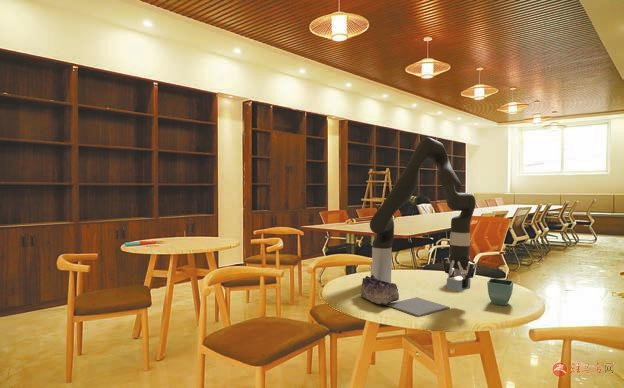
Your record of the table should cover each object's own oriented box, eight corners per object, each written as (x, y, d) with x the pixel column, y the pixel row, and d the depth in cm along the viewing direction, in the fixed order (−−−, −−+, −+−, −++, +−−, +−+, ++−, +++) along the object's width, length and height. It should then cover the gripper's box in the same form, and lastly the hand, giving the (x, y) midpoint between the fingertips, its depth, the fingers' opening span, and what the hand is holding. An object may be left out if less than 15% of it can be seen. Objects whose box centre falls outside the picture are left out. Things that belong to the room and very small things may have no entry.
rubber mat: (386, 305, 158) (386, 304, 158) (417, 298, 168) (417, 297, 168) (418, 316, 145) (418, 315, 145) (449, 308, 155) (449, 306, 155)
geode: (350, 296, 170) (352, 272, 171) (372, 297, 176) (374, 273, 177) (379, 306, 152) (381, 279, 153) (403, 306, 158) (404, 280, 159)
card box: (446, 288, 158) (446, 278, 158) (459, 285, 162) (459, 275, 162) (457, 291, 154) (457, 280, 154) (470, 288, 158) (470, 278, 158)
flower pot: (511, 308, 156) (511, 285, 156) (486, 304, 161) (486, 282, 161) (513, 302, 164) (513, 280, 163) (489, 299, 168) (490, 277, 168)
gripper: (482, 245, 154) (480, 289, 154) (450, 240, 166) (448, 281, 166) (470, 247, 150) (468, 292, 150) (438, 241, 161) (437, 283, 162)
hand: (458, 286), depth 158 cm, fingers closed on card box, 5 cm apart
